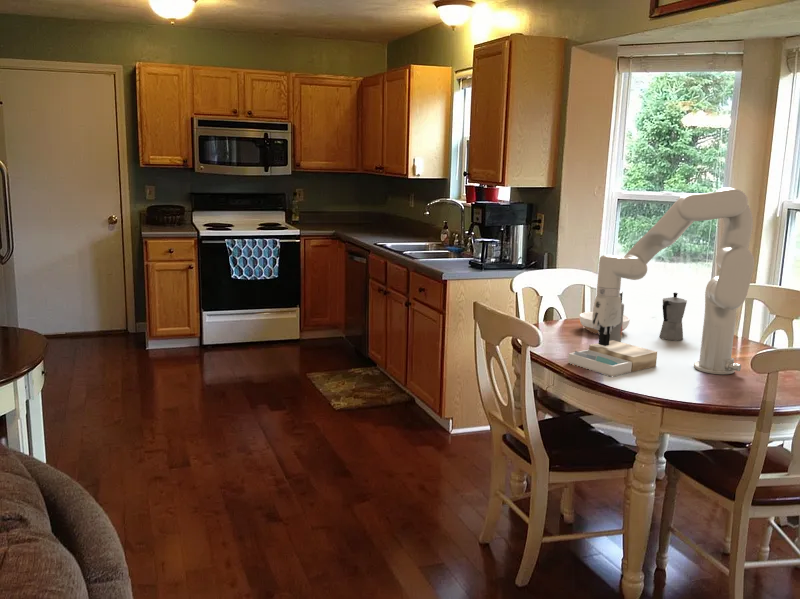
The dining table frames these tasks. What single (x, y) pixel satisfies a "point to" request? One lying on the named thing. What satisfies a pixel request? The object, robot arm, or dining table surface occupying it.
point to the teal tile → (605, 360)
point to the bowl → (588, 324)
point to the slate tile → (585, 355)
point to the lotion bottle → (618, 326)
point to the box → (601, 367)
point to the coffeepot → (673, 318)
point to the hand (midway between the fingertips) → (603, 344)
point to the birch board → (628, 354)
